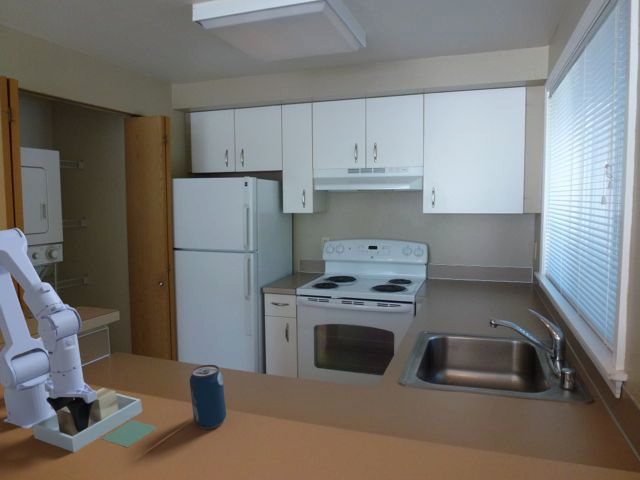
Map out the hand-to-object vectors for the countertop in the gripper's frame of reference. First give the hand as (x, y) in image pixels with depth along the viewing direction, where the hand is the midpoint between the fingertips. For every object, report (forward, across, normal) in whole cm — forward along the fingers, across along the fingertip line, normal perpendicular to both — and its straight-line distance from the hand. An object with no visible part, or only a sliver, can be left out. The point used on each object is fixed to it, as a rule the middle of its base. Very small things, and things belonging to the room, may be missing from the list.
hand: (75, 426), depth 105 cm
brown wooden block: (+1, 0, 0) cm, 1 cm away
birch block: (+1, 0, +7) cm, 7 cm away
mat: (+2, +12, +4) cm, 12 cm away
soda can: (+2, +24, +16) cm, 29 cm away
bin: (+2, 0, +4) cm, 4 cm away
